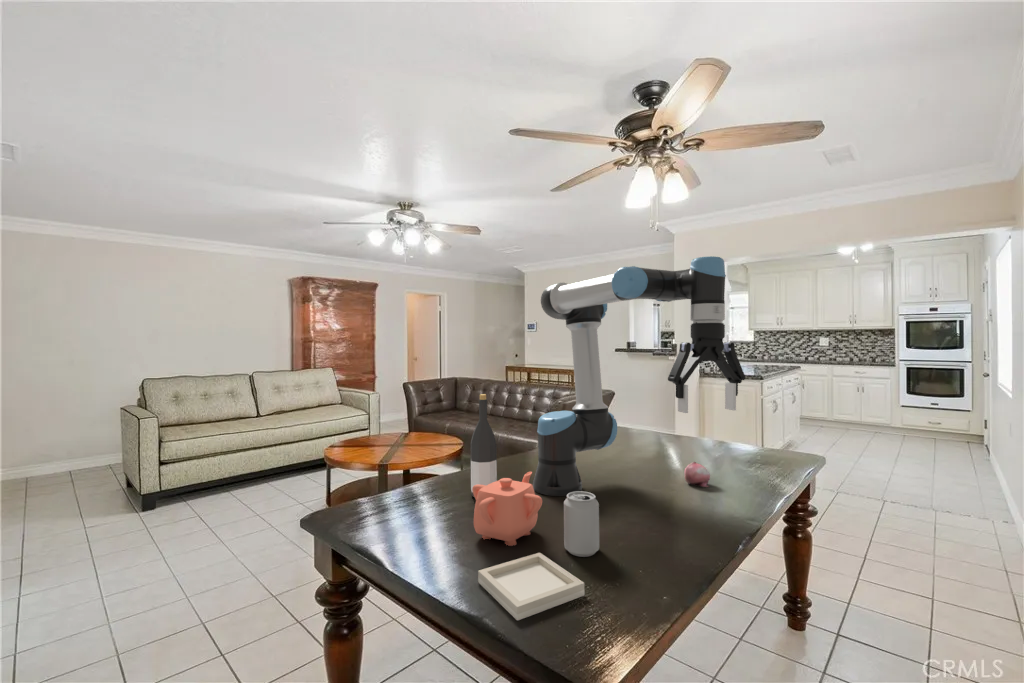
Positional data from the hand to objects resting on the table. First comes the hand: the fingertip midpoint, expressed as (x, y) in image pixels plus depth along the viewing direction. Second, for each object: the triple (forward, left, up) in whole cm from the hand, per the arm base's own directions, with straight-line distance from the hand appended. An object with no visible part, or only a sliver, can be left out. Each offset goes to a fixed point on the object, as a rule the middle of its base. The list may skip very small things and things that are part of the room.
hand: (707, 411), depth 109 cm
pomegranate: (-24, +27, -29) cm, 46 cm away
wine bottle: (-52, -34, -29) cm, 68 cm away
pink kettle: (-24, -42, -29) cm, 56 cm away
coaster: (-1, -51, -28) cm, 58 cm away
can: (-8, -33, -29) cm, 44 cm away
